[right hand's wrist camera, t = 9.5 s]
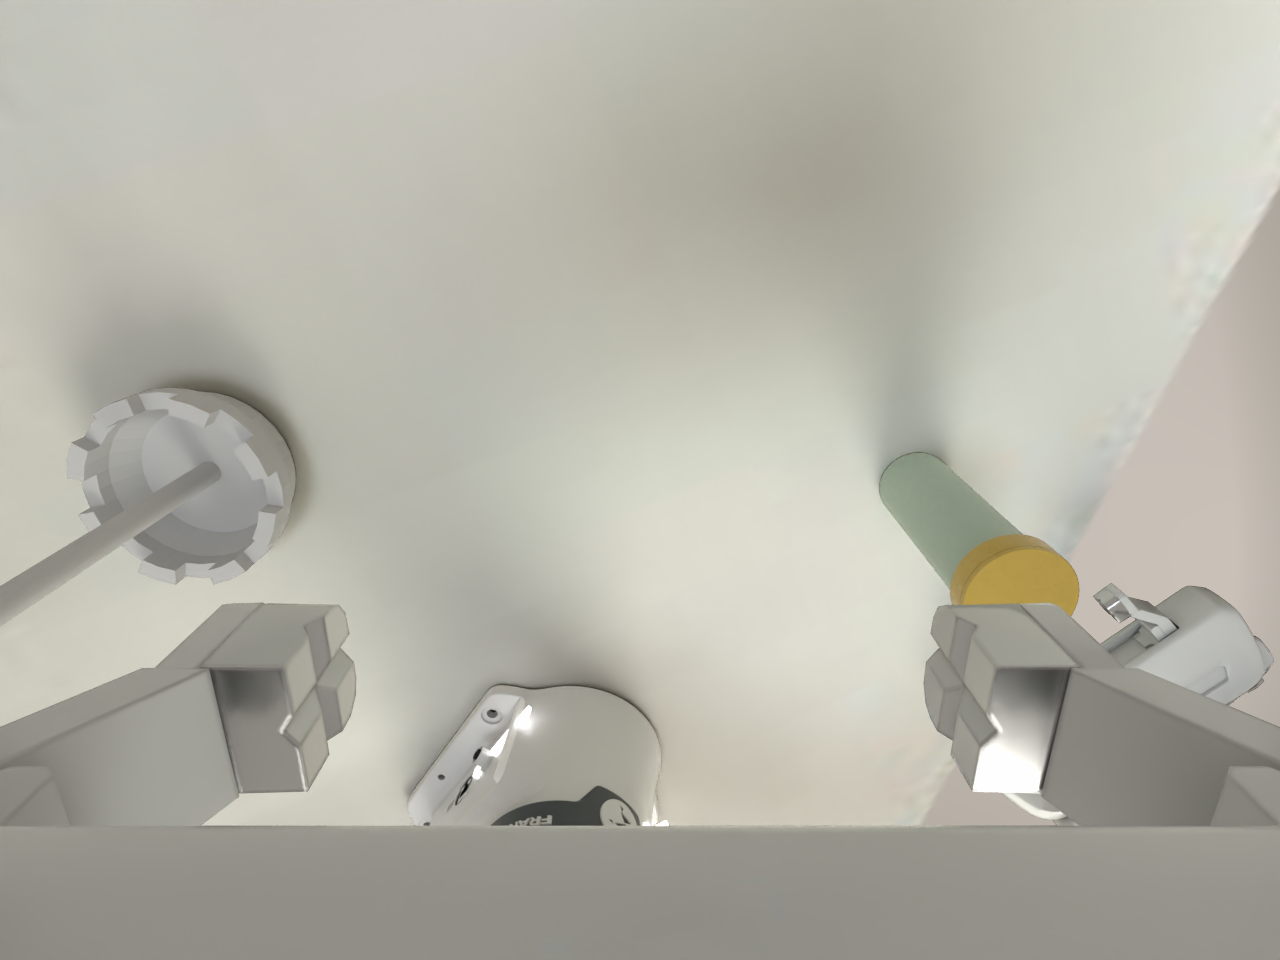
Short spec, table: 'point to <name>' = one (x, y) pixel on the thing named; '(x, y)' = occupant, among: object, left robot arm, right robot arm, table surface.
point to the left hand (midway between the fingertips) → (1047, 635)
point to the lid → (1015, 574)
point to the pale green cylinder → (939, 511)
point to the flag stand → (171, 492)
